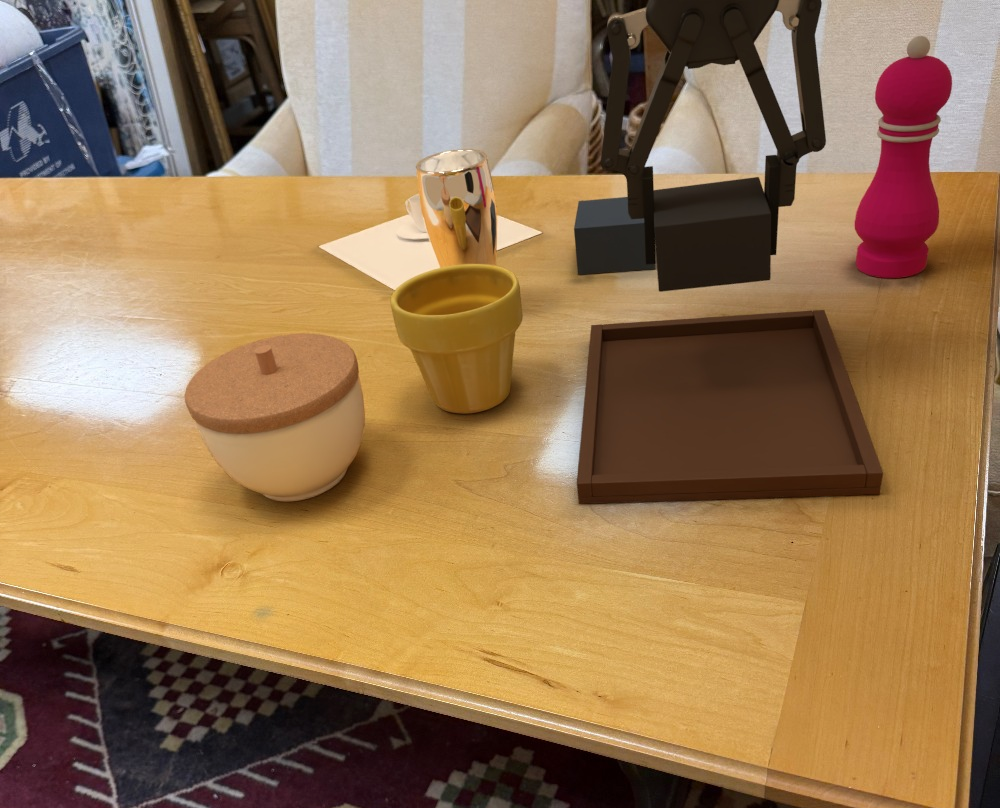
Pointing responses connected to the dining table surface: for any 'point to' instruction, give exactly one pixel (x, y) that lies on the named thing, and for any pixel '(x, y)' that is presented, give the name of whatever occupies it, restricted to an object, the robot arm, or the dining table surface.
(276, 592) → the dining table surface
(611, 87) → the robot arm
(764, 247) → the pad
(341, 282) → the dining table surface
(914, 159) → the pepper mill
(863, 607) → the dining table surface
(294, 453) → the lidded bowl
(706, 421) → the brown square tray
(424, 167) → the shiny metal vase
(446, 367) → the flower pot
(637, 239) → the pad
